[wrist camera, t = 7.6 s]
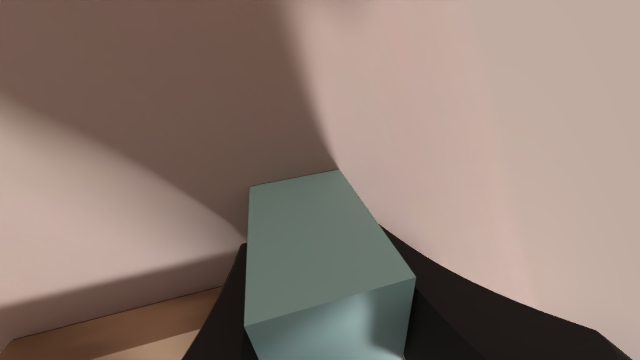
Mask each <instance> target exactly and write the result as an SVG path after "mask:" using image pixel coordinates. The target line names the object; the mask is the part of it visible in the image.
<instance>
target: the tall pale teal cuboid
mask: <svg viewBox="0 0 640 360" xmlns="http://www.w3.org/2000/svg"><path fill="white" fill-rule="evenodd" d="M415 281H416V276H415V275H414V273H413V272H412V271H411V269H410V268H409V266H408V265H407V264H406V262H405V261H404V259H403V258H402V257H401V255H400V254H399V252H398V251H397V250H396V248H395V247H394V245H393V244H392V243H391V241H390V240H389V238H388V237H387V235H386V234H385V233H384V231H383V230H382V228H381V227H380V226H379V224H378V223H377V221H376V220H375V219H374V217H373V216H372V214H371V213H370V212H369V210H368V209H367V207H366V206H365V205H364V203H363V202H362V200H361V199H360V198H359V196H358V195H357V193H356V192H355V191H354V189H353V188H352V186H351V185H350V184H349V182H348V181H347V179H346V178H345V177H344V175H343V174H342V172H341V171H340V170H339V169H338V170H333V171H328V172H323V173H318V174H312V175H307V176H302V177H297V178H292V179H287V180H282V181H277V182H271V183H266V184H261V185H256V186H251V187H250V190H249V215H248V240H247V265H246V289H245V314H244V328H245V330H246V332H247V334H248V337H249V339H250V341H251V343H252V345H253V348H254V350H255V352H256V354H257V357H258V359H259V360H402V359H403V353H404V347H405V341H406V335H407V329H408V323H409V317H410V311H411V305H412V299H413V293H414V287H415Z"/></svg>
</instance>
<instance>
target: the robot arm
mask: <svg viewBox="0 0 640 360" xmlns="http://www.w3.org/2000/svg"><path fill="white" fill-rule="evenodd" d="M379 226H380V227H381V228H382V230H383V231H384V233H385V234H386V235H387V237H388V238H389V240H390V241H391V243H392V244H393V245H394V247H395V248H396V250H397V251H398V252H399V254H400V255H401V257H402V258H403V259H404V261H405V262H406V264H407V265H408V266H409V268H410V269H411V271H412V272H413V273H414V275H415V276H416V281H415V287H414V293H413V299H412V305H411V311H410V317H409V323H408V329H407V335H406V341H405V347H404V353H403V354H404V357H405V359H406V360H632V359H631V358H630V357H628V356H627V355H626V354H624V353H623V352H622V351H621V350H620V349H619V348H617V347H616V346H615V345H614V344H612V343H611V342H610V341H609V340H607V339H606V338H605V337H604V336H602V335H601V334H600V333H599V332H597V331H596V330H593V329H590V328H587V327H584V326H582V325H579V324H576V323H573V322H570V321H567V320H564V319H562V318H558V317H556V316H553V315H550V314H547V313H544V312H542V311H539V310H537V309H534V308H532V307H529V306H527V305H524V304H521V303H519V302H516V301H514V300H511V299H509V298H507V297H504V296H502V295H500V294H497V293H495V292H493V291H491V290H489V289H486V288H484V287H482V286H480V285H478V284H476V283H473V282H471V281H469V280H467V279H465V278H463V277H461V276H459V275H458V274H456V273H454V272H452V271H450V270H448V269H446V268H445V267H443V266H441V265H439V264H437V263H436V262H434V261H432V260H431V259H429V258H427V257H426V256H424V255H422V254H421V253H419V252H418V251H416V250H415V249H413V248H412V247H410V246H409V245H407V244H406V243H404V242H403V241H401V240H400V239H399V238H397V237H396V236H394V235H393V234H392V233H390V232H389V231H388V230H386V229H385V228H383V227H382V226H381V225H379ZM246 265H247V243H244V244H242V245H241V246H240V248H239V251H238V254H237V256H236V259H235V261H234V264H233V266H232V268H231V271H230V273H229V275H228V277H227V279H226V281H225V284H224V286H223V288H222V290H221V292H220V294H219V296H218V298H217V300H216V302H215V303H214V305H213V307H212V309H211V311H210V313H209V315H208V316H207V318H206V320H205V322H204V324H203V325H202V327H201V329H200V330H199V332H198V334H197V335H196V337H195V339H194V340H193V342H192V344H191V345H190V347H189V348H188V350H187V352H186V353H185V355H184V356H183V358H182V359H181V360H259V359H258V357H257V354H256V352H255V350H254V348H253V345H252V343H251V341H250V339H249V337H248V334H247V332H246V330H245V328H244V314H245V289H246Z"/></svg>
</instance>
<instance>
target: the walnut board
mask: <svg viewBox="0 0 640 360" xmlns="http://www.w3.org/2000/svg"><path fill="white" fill-rule="evenodd" d="M222 288H223V286H222V287H218V288H215V289H211V290H207V291H203V292H199V293H195V294H191V295H187V296H183V297H180V298H176V299H172V300H168V301H164V302H160V303H156V304H152V305H148V306H144V307H141V308H137V309H133V310H129V311H125V312H121V313H117V314H113V315H109V316H106V317H102V318H98V319H94V320H90V321H86V322H82V323H78V324H74V325H71V326H67V327H63V328H59V329H55V330H51V331H47V332H43V333H39V334H36V335H32V336H28V337H24V338H20V339H16V340H12V341H11V342H10V343H9V344H8V345H7V346H6V348H5V349H4V350H3V351H2V352H1V354H0V360H181V359H182V358H183V356H184V355H185V353H186V352H187V350H188V348H189V347H190V345H191V344H192V342H193V340H194V339H195V337H196V335H197V334H198V332H199V330H200V329H201V327H202V325H203V324H204V322H205V320H206V318H207V316H208V315H209V313H210V311H211V309H212V307H213V305H214V303H215V302H216V300H217V298H218V296H219V294H220V292H221V290H222Z"/></svg>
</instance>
